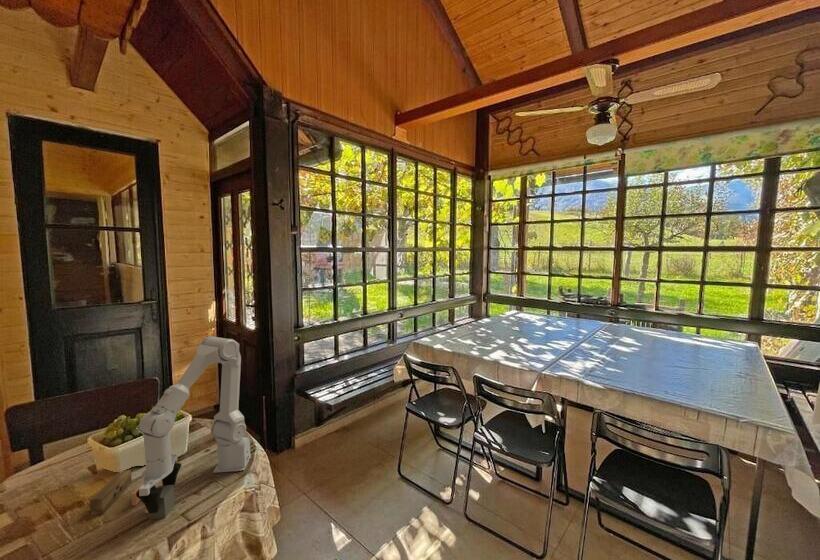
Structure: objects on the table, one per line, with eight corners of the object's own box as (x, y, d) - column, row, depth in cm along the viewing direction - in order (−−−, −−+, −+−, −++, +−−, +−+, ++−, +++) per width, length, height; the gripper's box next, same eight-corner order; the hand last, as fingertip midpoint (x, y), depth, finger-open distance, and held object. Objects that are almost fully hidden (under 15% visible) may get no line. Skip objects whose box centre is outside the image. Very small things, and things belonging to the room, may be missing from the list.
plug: (175, 504, 100) (173, 484, 99) (165, 517, 95) (164, 497, 94) (154, 506, 99) (152, 486, 98) (143, 519, 94) (141, 499, 93)
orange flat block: (152, 485, 106) (152, 474, 106) (136, 505, 99) (135, 493, 98) (149, 485, 106) (148, 475, 106) (132, 505, 98) (131, 494, 98)
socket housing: (132, 483, 108) (131, 469, 107) (104, 513, 96) (102, 498, 95) (121, 484, 107) (120, 470, 107) (91, 514, 95) (89, 499, 95)
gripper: (157, 441, 101) (161, 484, 103) (124, 473, 87) (128, 523, 89) (183, 439, 102) (186, 482, 104) (154, 471, 88) (158, 521, 90)
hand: (161, 501), depth 96 cm, fingers open, 7 cm apart
